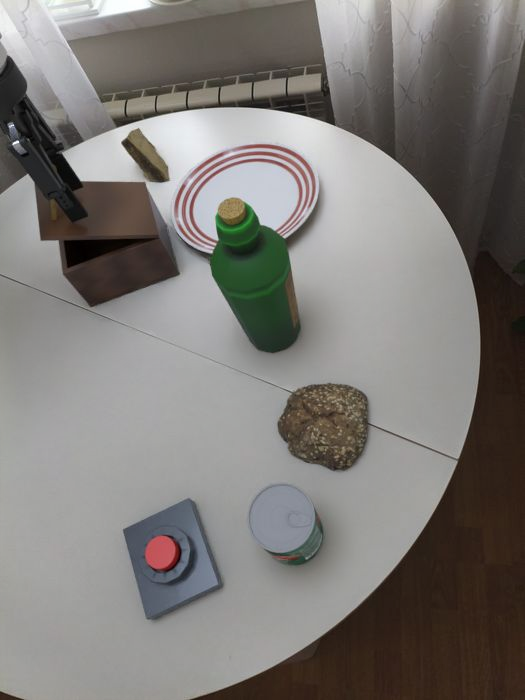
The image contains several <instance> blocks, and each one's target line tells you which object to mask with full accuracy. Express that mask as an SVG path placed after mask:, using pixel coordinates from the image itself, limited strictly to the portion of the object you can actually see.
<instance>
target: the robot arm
mask: <svg viewBox="0 0 525 700" xmlns="http://www.w3.org/2000/svg"><path fill="white" fill-rule="evenodd" d="M2 37H3V34H2V33H1V32H0V129H1V131H2V133H3V134H4V135H6V136H7V137H8V138H9V140H10V141H8V142H6V144H5V146H6V149H7V150H8V151H9V153H11V155H12V156H14V158H15V159H17V161H18V163H19V164H20V166H22V168H23V169H24V171H25V172H26V173H27V175H28V176H29V177H30V178H31V180H32V182H33V183H35V184H36V185H37V187H38V188H39V189H40V191H41V192H42V193H43V196H44V197H45V198H46V199H47V200H48V201H49V200H52V199H54V200H55V201H56V202H57V203H58V205H59V206H60V207H61V209H62V210H63V211H64V213H65V214H66V215H67V217H68V218H69V219H70V221H71V222H72V223H73V222H75V221H78V220H81V219H83V218H86V217H88V213H87V211H86V210H85V208H84V207H83V205H82V204H81V203H80V201H79V200H78V198H77V197H76V196H75V194H74V193H73V191H75V190H78V189H80V188H83V184H82V182H81V181H82V180H81V179H80V177H79V176H78V175H77V173H76V171H75V170H74V169H73V168H72V166H71V164H70V162H68V159H66V157H65V155H64V154H63V153H62V152H61V151H64V150H65V145H64V143H63V142H62V141H60V142H58V143H57V142H56V141H57V136H56V134H55V133H54V132H53V130H52V129H51V128H50V126H49V124H48V123H47V122H46V120H45V119H44V117H43V116H42V114H41V113H40V111H39V109H37V107H36V106H35V104H34V103H33V102H32V100H31V99H30V97H29V96H28V93H27V91H28V81H27V79H26V78H25V76H24V74H23V72H22V71H21V70H20V68H19V66H18V65H17V63H16V62H15V60H14V59H13V58H12V57H11V56H10V55H9V54H8V51H7V49H6V47H5V46H4V45H3V43H2V41H1V39H2ZM53 164H54V165H55V166H56V169H57V171H56V169H55V168H54V166H53Z"/></svg>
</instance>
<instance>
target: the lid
mask: <svg viewBox="0 0 525 700" xmlns="http://www.w3.org/2000/svg"><path fill="white" fill-rule="evenodd" d="M53 166H54V168H55V169H56V166H55V165H54V164H53ZM56 171H57V169H56ZM80 181H81V182H82V184H83V188H80V189H78V190H75V191H73V193H74V194H75V196H76V197H77V198H78V200H79V201H80V203H81V204H82V205H83V207H84V208H85V210H86V211H87V213H88V217H86V218H83V219H81V220H78V221H75V222H73V223H72V222H71V221H70V219H69V218H68V217H67V215H66V214H65V213H64V211H63V210H62V209H61V207H60V206H59V205H58V203H57V202H56V201H55V200H54V199H52V200H49V201H48V200H47V199H46V198H45V197H44V196H43V193H42V192H41V191H40V189H39V188H38V187H37V185H36V184H35V183H34V182H33V183H34V193H35V201H36V202H35V203H36V211H37V221H38V230H39V239H40V242H45V241H46V242H50V241H53V242H54V241H58V240H98V239H140V238H159V232H158V228H157V225H156V221H155V217H154V213H153V210H152V206H151V202H150V198H149V194H148V191H147V189H148V187H147V184H146V181H105V180H103V181H98V180H97V181H96V180H94V181H93V180H91V181H90V180H80Z"/></svg>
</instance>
